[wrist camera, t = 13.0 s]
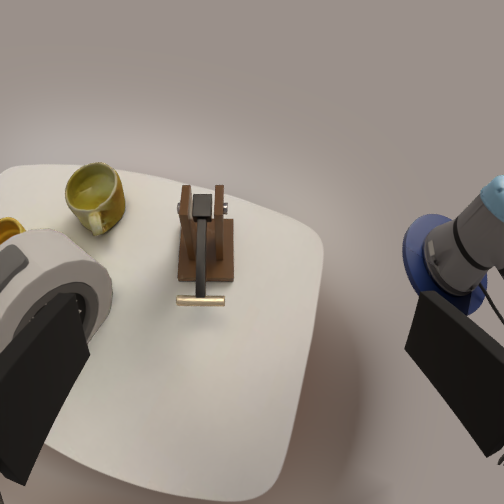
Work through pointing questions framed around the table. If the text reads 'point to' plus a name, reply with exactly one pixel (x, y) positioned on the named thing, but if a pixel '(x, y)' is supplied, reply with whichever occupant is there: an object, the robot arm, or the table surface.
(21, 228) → the flower pot
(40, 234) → the alarm clock
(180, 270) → the wooden lever stand
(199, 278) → the switch lever
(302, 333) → the table surface
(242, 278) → the table surface
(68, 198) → the mug
